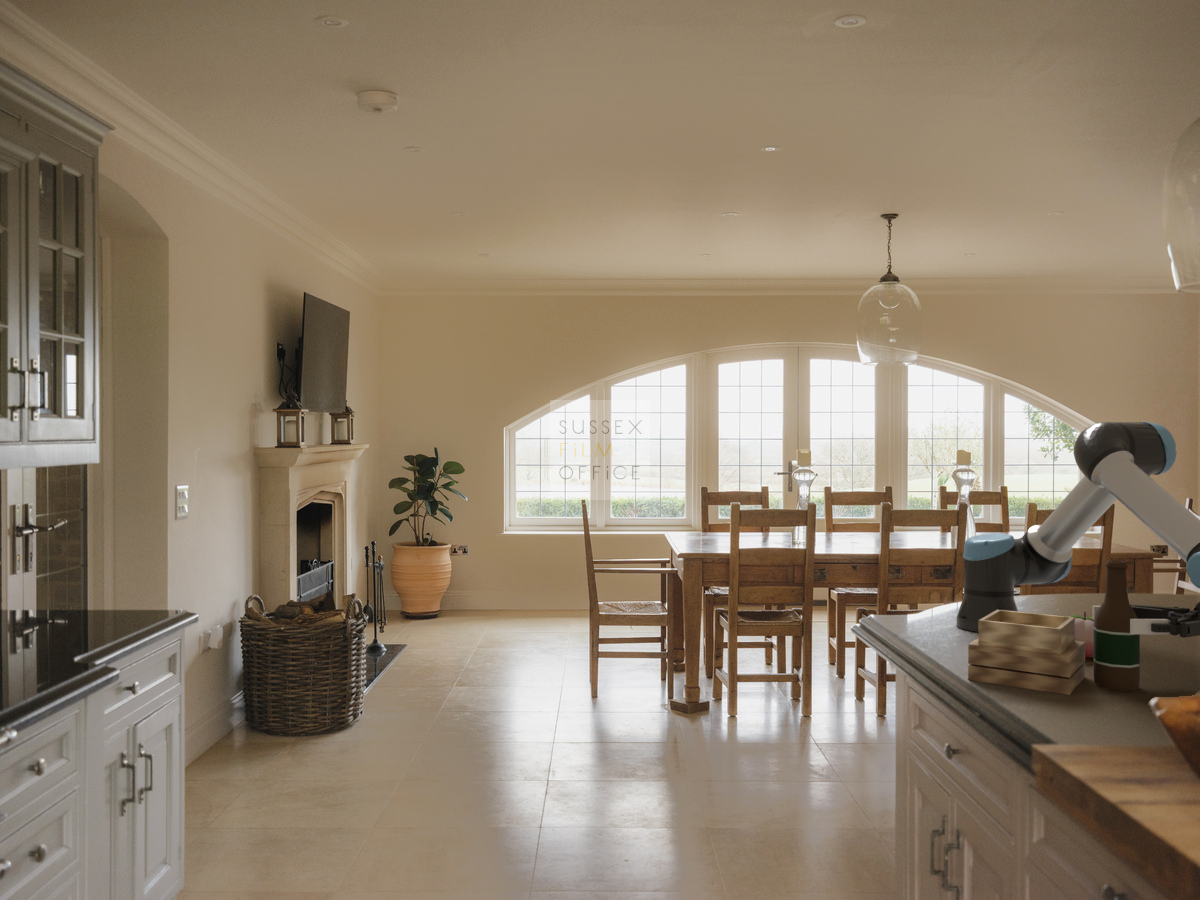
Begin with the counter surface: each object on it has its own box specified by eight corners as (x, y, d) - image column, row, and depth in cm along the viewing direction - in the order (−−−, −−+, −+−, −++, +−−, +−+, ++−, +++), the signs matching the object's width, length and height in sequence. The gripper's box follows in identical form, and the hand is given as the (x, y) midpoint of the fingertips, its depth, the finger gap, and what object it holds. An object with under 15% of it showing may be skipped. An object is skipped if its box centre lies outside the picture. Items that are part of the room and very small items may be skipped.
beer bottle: (1097, 679, 180) (1098, 557, 180) (1143, 685, 175) (1143, 560, 175) (1089, 687, 174) (1089, 561, 174) (1135, 694, 169) (1136, 564, 169)
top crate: (978, 644, 179) (978, 620, 179) (997, 632, 191) (997, 609, 191) (1060, 654, 170) (1060, 629, 170) (1074, 641, 182) (1074, 617, 182)
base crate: (968, 679, 180) (968, 644, 179) (989, 664, 192) (989, 630, 192) (1069, 694, 169) (1069, 656, 169) (1084, 677, 181) (1084, 642, 181)
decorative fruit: (1110, 656, 200) (1110, 610, 200) (1109, 663, 193) (1109, 616, 193) (1062, 651, 204) (1062, 606, 204) (1059, 658, 197) (1059, 612, 197)
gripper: (1270, 654, 161) (1148, 654, 162) (1184, 626, 186) (1079, 626, 187) (1271, 612, 161) (1149, 611, 162) (1184, 589, 186) (1079, 589, 187)
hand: (1111, 619), depth 174 cm, fingers open, 13 cm apart
